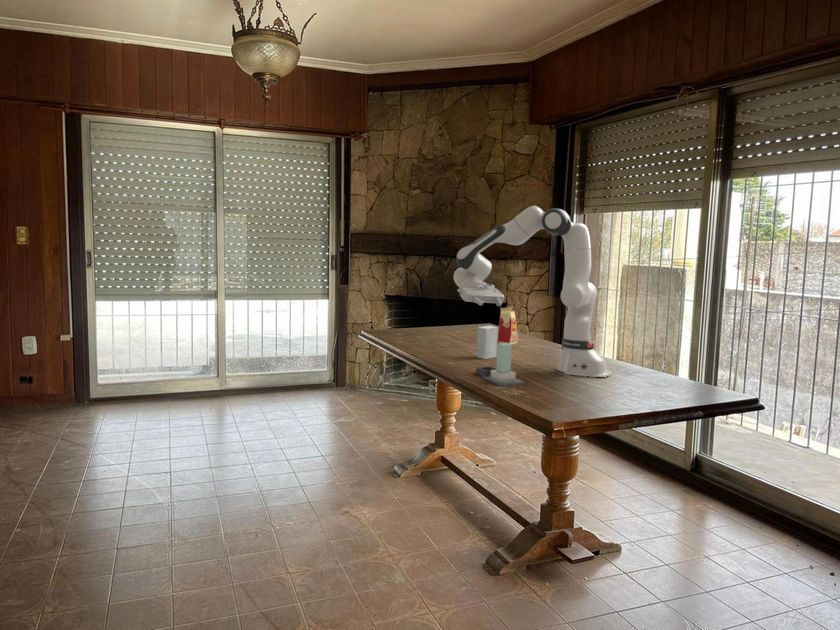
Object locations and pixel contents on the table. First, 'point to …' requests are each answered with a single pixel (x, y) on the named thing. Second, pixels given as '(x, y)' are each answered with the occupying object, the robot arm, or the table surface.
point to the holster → (484, 370)
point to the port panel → (503, 378)
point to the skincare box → (487, 342)
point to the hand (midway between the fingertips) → (491, 304)
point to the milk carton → (507, 326)
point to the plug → (504, 358)
